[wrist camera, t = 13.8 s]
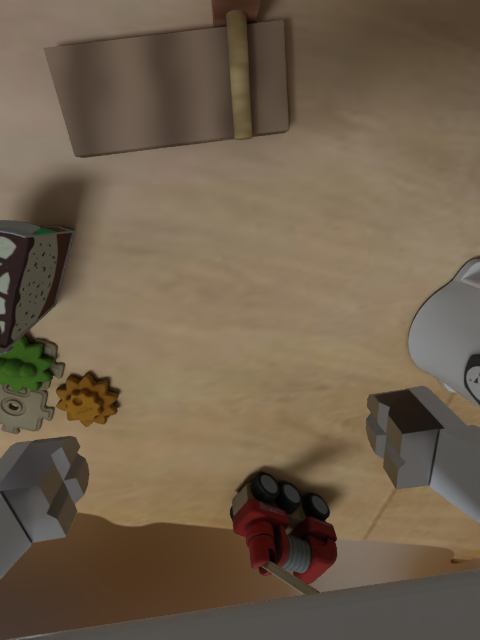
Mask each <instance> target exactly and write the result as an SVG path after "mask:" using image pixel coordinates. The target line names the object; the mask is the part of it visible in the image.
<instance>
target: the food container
mask: <svg viewBox="0 0 480 640" xmlns="http://www.w3.org/2000/svg"><path fill="white" fill-rule="evenodd" d="M74 232H75V230H73V229H70V228H67V227H63V226H36V225H33V224H30V223H26V222H20V221H10V220H1V221H0V355H2V354H6V353H8V352H9V351H11V350H13V349H14V347H11V346H12V345H14V344H15V343H16V342H17V341H18V340H19V339H20V338H21V337H22V336H23V335H24V334H25V333H26V332H28V331H29V330H30V329H31V328H32V327H33V326H34V325H35V324H36V323H37V322H38V321H39V320H41V319H42V318H43V317H44V316H45V315H46V314H47V313H48V312H49V311H50V310H51V309H52V308H54V307H55V306H56V302H57V298H58V294H59V290H60V286H61V283H62V279H63V275H64V271H65V267H66V263H67V259H68V255H69V252H70V248H71V244H72V240H73V236H74Z"/></svg>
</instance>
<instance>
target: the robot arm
mask: <svg viewBox="0 0 480 640" xmlns="http://www.w3.org/2000/svg"><path fill="white" fill-rule="evenodd" d="M408 345H409V352H410V355H411V357H412V359H413V361H414V363H415V364H416V365H417V366H418V367H419V368H420V369H421V370H423V371H425V372H426V373H428V374H430V375H432V376H434V377H436V378H437V379H438V380H439V382H440V383H441V385H442V386H443V387H444V388H446V389H447V390H449V391H450V392H457V393H459V394H460V395H461V396H463V397H464V398H466V399H467V400H469V401H470V402H471V403H473V404H474V405H476V406H477V407H479V408H480V259H473V260H470V261H469V262H467V263H466V264H465V265H464V266H463V268H462V269H461V270H460V271H459V273H458V274H457V275H456V277H455V278H454V279H453V280H452V281H451V282H450V283H449V284H448V285H446V286H445V287H444V288H442V289H441V290H439V291H438V292H437V293H435V294H434V295H433V296H432V297H431V298H430V299H429V300H428V301H427V302H426V303H425V304H424V305H423V306H422V308H421V309H420V310H419V312H418V314H417V315H416V317H415V319H414V321H413V323H412V326H411V329H410V333H409V340H408ZM367 407H368V409H369V410H370V412H371V414H370V415H369V416H368V417H367V419H366V431H367V436H368V440H369V442H370V445H371V447H372V449H373V451H374V452H375V454H377V455H378V456H380V457H382V458H383V459H384V463H383V468H384V470H385V471H386V473H387V475H388V476H389V478H390V480H391V481H392V483H393V485H394V486H395V488H396V489H402V488H411V487H419V486H428V485H430V488H432V489H433V490H435V491H436V492H437V493H439V494H440V495H441V496H443V497H444V498H445V499H447V500H448V501H450V502H451V503H452V504H454V505H455V506H456V507H458V508H459V509H461V510H462V511H463V512H465V513H466V514H467V515H469V516H470V517H472V518H473V519H474V520H476V521H477V522H478V523H480V428H479V427H477V426H475V425H470V426H467V425H466V424H465V423H464V422H463V421H462V420H461V419H460V418H459V417H458V416H457V415H456V414H455V413H454V412H453V411H452V410H451V409H449V408H448V407H447V406H446V405H445V404H444V403H443V402H442V401H441V400H440V399H439V398H438V397H437V396H436V395H435V394H434V393H433V392H432V391H431V390H430V389H429V388H427V387H425V386H419V387H413V388H407V389H404V390H396V391H389V392H382V393H376V394H369V396H368V399H367ZM79 448H80V445H79V443H78V441H77V439H76V437H73V436H66V437H58V438H49V439H41V440H35V441H26V442H18V443H15V444H13V445H12V446H10V447H9V449H8V450H7V451H6V452H5V454H4V455H3V456H2V458H1V459H0V579H1V578H2V577H3V576H4V575H5V574H6V572H7V571H8V570H9V569H10V568H11V567H12V566H13V565H14V564H15V563H16V561H17V560H18V559H19V558H20V557H21V556H22V555H23V554H24V553H25V552H26V551H27V550H28V548H29V547H30V546H31V545H32V544H31V543H34V542H39V541H45V540H51V539H57V538H62V537H66V536H67V534H68V532H69V529H70V527H71V524H72V522H73V520H74V518H75V515H76V513H77V509H76V506H75V503H76V502H77V501H78V500H79V499H80V498H81V497H83V496H84V494H85V491H86V489H87V486H88V480H89V468H88V464H87V461H86V459H85V458H84V457H82V456H81V455H79V454H78V453H77V452H78V450H79ZM7 640H480V569H474V570H468V571H461V572H454V573H448V574H441V575H434V576H428V577H421V578H414V579H407V580H401V581H395V582H387V583H381V584H374V585H367V586H361V587H355V588H348V589H341V590H334V591H327V592H321V593H314V594H307V595H301V596H294V597H287V598H281V599H274V600H268V601H260V602H254V603H248V604H240V605H234V606H227V607H221V608H214V609H207V610H201V611H194V612H187V613H181V614H175V615H168V616H161V617H155V618H148V619H141V620H135V621H128V622H122V623H114V624H108V625H101V626H95V627H88V628H81V629H75V630H68V631H61V632H54V633H48V634H41V635H34V636H28V637H21V638H15V639H7Z"/></svg>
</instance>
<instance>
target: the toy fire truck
mask: <svg viewBox="0 0 480 640" xmlns="http://www.w3.org/2000/svg"><path fill="white" fill-rule="evenodd" d="M329 515H330V511H329V508H328V506H327V504H326V502H325V501H324V500H323V499H322V498H321V497H320V496H319V495H317V494H315V493H311V494H310V495H309V496H308V497H307V498H306V499H305V500H304V501H303V502H302V498H301V495H300V493H299V491H298V490H297V488H296V487H295V486H294V485H292V484H291V483H288V482H283V483H282V484H281V485H280V486H278V484H277V482H276V481H275V479H274V478H273V477H272V476H271V475H269V474H268V473H265V472H262V473H260V474H258V476H257V477H256V478H255V479H254V481H253V482H252V483H251V482H250V483H247V484H246V485H245V486H244V487H243V489H242V490H241V491H240V492H239V493H238V494H237V496H236V497H235V498H234V499H233V502H232V507H231V509H230V516H231V519H232V521H233V531H234V533H236V534H238V535H241V536H244V537H246V544H247V546H248V547H249V551H250V561H251V568H252V569H256V568H259V572H260V574H262V575H263V576H267V575H270V574H274V575H275V576H277V577H278V578H280V579H281V580H283V581H284V582H286V583H287V584H288V585H290V586H291V587H293V588H294V589H296V590H297V591H299V592H300V593H302V594H303V595H307V594H314V593H320V592H319V591H317V590H316V589H314V588H313V587H311V586H310V585H308V584H310V583H312V582H314V581H315V580H316V579H317V578H318V577H320V576H321V575H322V574H323V573H324V572H325V571H326V570H327V569H328V568H330V567H331V566H332V565H333V564H334V562H335V561H336V558H337V547H336V543H335V541H336V540H337V537H336V534H335V531H334V528H333V525H332V524H329V523H327V522H326V521H325V520H326V519H327V518H328V517H329ZM282 568H284V569H288V570H291V571H293V574H294V575H292V574H290V573H289V572H287V571H286V570H284V569H282Z"/></svg>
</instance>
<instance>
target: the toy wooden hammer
mask: <svg viewBox="0 0 480 640" xmlns="http://www.w3.org/2000/svg"><path fill="white" fill-rule="evenodd" d="M260 3H261V0H212V12H213V24H214V28H218V27H226V26H227V37H228V51H229V66H230V80H231V94H232V109H233V123H234V138H235V140H244V139H251V138H252V121H251V101H250V81H249V61H248V41H247V24H251V23H256V19H257V15H258V11H259V7H260Z"/></svg>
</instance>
